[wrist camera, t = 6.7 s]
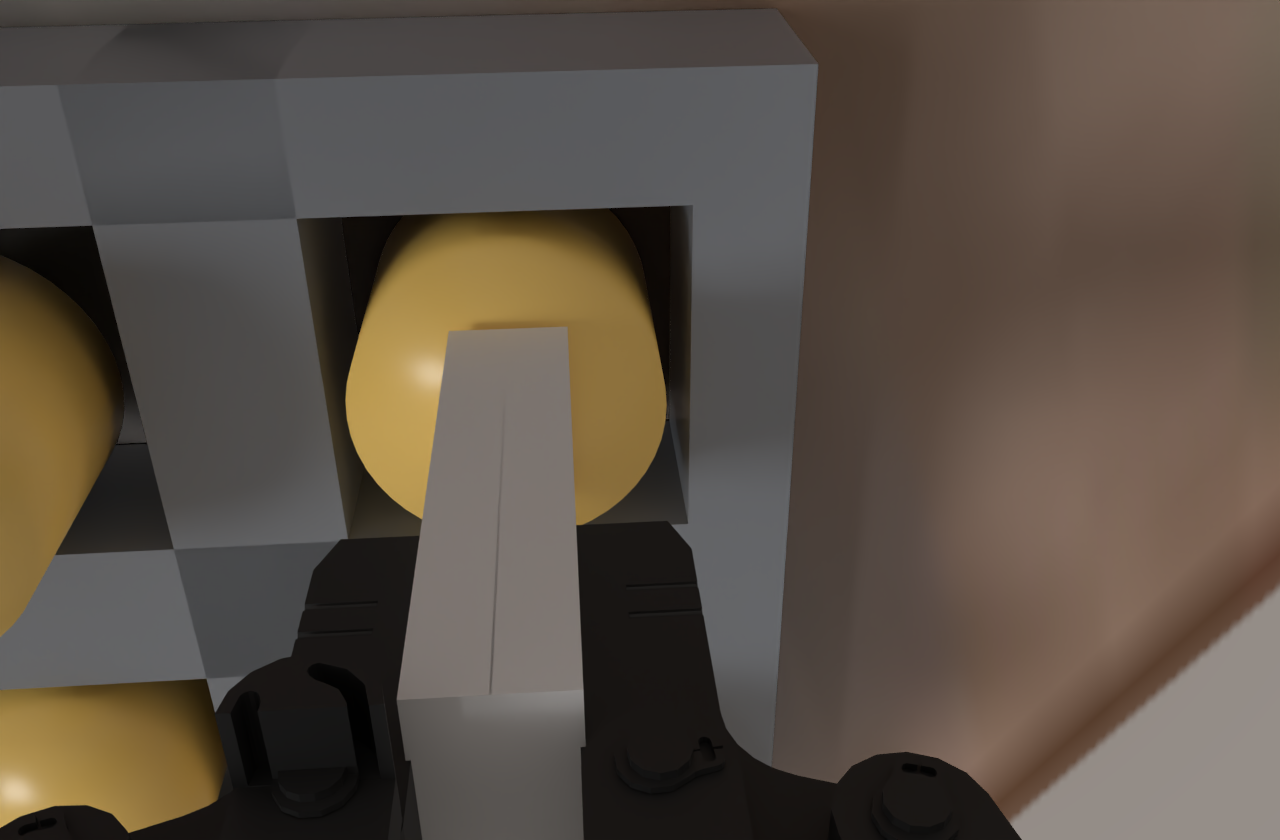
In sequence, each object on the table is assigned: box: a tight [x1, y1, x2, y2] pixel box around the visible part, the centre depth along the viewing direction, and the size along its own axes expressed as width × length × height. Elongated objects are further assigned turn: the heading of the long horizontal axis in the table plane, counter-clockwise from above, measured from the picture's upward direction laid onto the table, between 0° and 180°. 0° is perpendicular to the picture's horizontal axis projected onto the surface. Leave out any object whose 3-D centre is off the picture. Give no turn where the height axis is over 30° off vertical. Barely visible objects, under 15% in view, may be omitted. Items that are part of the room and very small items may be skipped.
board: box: [0, 8, 818, 799], centre depth 20 cm, size 20×16×3 cm
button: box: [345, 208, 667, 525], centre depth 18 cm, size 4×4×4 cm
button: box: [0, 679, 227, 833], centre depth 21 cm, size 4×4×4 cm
